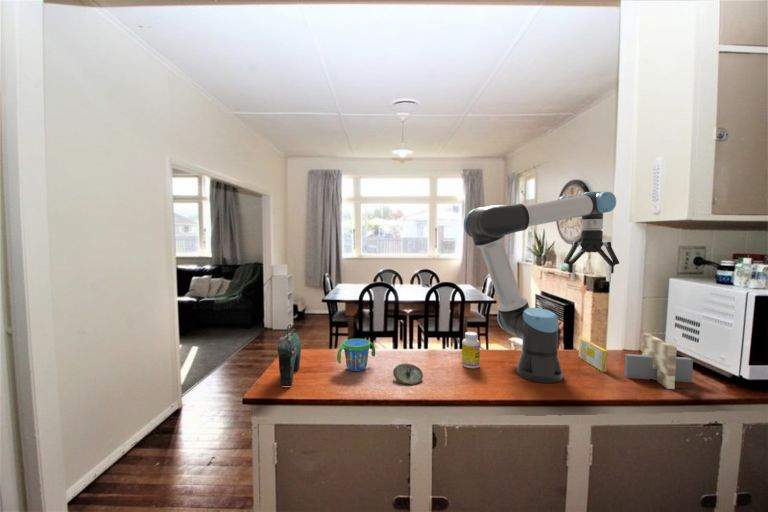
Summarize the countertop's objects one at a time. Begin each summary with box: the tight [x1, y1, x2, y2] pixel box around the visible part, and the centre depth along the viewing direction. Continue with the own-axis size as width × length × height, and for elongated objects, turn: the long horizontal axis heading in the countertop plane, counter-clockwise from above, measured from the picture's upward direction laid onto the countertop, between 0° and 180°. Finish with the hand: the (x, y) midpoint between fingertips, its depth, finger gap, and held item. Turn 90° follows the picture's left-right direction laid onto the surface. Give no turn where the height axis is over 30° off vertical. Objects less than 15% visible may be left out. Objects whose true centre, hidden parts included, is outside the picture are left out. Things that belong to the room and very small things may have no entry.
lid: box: [392, 362, 424, 386], centre depth 121 cm, size 11×10×5 cm
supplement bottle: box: [461, 331, 481, 369], centre depth 133 cm, size 7×7×13 cm
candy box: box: [578, 337, 609, 373], centre depth 135 cm, size 16×2×8 cm, turn 179°
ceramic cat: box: [277, 323, 302, 387], centre depth 122 cm, size 20×6×20 cm, turn 3°
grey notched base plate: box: [623, 353, 694, 383], centre depth 121 cm, size 20×2×8 cm, turn 79°
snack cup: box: [336, 338, 376, 372], centre depth 131 cm, size 16×10×10 cm
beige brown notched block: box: [641, 333, 678, 390], centre depth 120 cm, size 16×2×14 cm, turn 169°
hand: (590, 281), depth 142 cm, fingers open, 13 cm apart
